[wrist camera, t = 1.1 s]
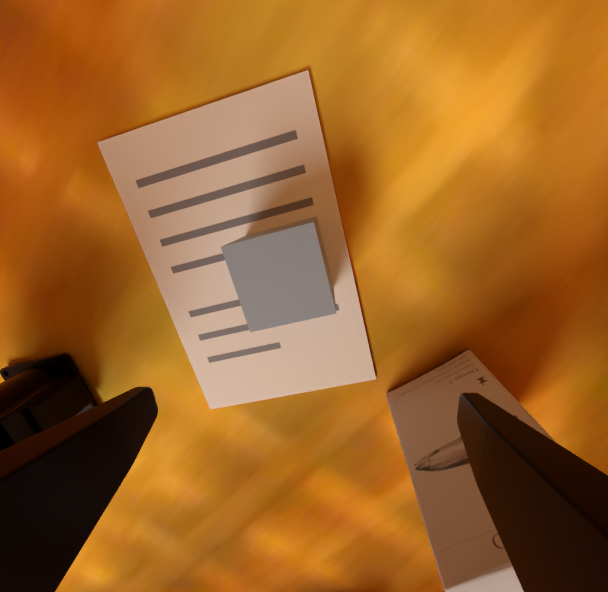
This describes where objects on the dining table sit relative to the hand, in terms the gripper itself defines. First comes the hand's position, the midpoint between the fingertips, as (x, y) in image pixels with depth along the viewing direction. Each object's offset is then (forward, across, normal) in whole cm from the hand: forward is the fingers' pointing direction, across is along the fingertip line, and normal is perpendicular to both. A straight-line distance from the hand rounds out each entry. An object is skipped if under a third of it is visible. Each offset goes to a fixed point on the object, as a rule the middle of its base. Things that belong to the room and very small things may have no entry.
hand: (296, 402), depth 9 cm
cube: (+13, +2, -1) cm, 13 cm away
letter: (+13, +5, -1) cm, 14 cm away
